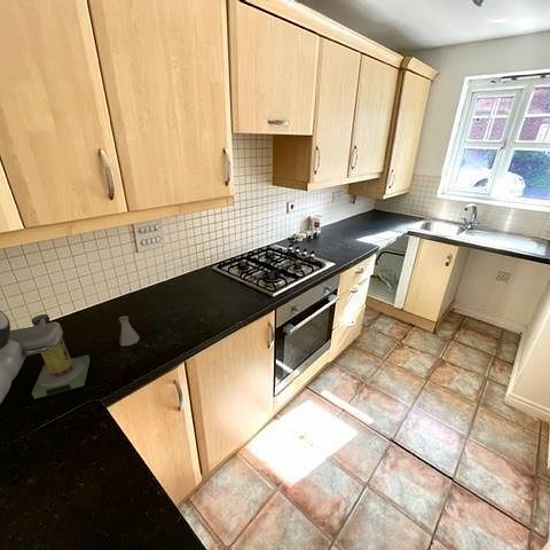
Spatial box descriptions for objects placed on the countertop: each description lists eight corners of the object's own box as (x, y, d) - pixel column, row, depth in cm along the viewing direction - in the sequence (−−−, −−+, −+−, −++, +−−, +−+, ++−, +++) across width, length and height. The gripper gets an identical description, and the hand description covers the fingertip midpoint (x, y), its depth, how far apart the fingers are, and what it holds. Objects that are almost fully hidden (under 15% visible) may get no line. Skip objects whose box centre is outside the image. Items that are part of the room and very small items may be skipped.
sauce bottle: (76, 370, 96) (56, 317, 87) (53, 381, 91) (30, 326, 83) (69, 361, 100) (49, 309, 91) (47, 371, 95) (24, 318, 87)
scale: (33, 400, 89) (30, 392, 87) (46, 370, 100) (42, 363, 99) (83, 386, 93) (81, 379, 92) (90, 360, 104) (87, 353, 103)
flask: (140, 333, 118) (134, 311, 114) (139, 343, 112) (133, 321, 108) (120, 337, 116) (113, 315, 112) (118, 348, 110) (111, 325, 106)
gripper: (50, 336, 66) (63, 306, 77) (-73, 361, 59) (-38, 324, 70) (59, 358, 68) (71, 326, 80) (-58, 385, 61) (-27, 346, 73)
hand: (19, 325), depth 75 cm, fingers open, 8 cm apart
